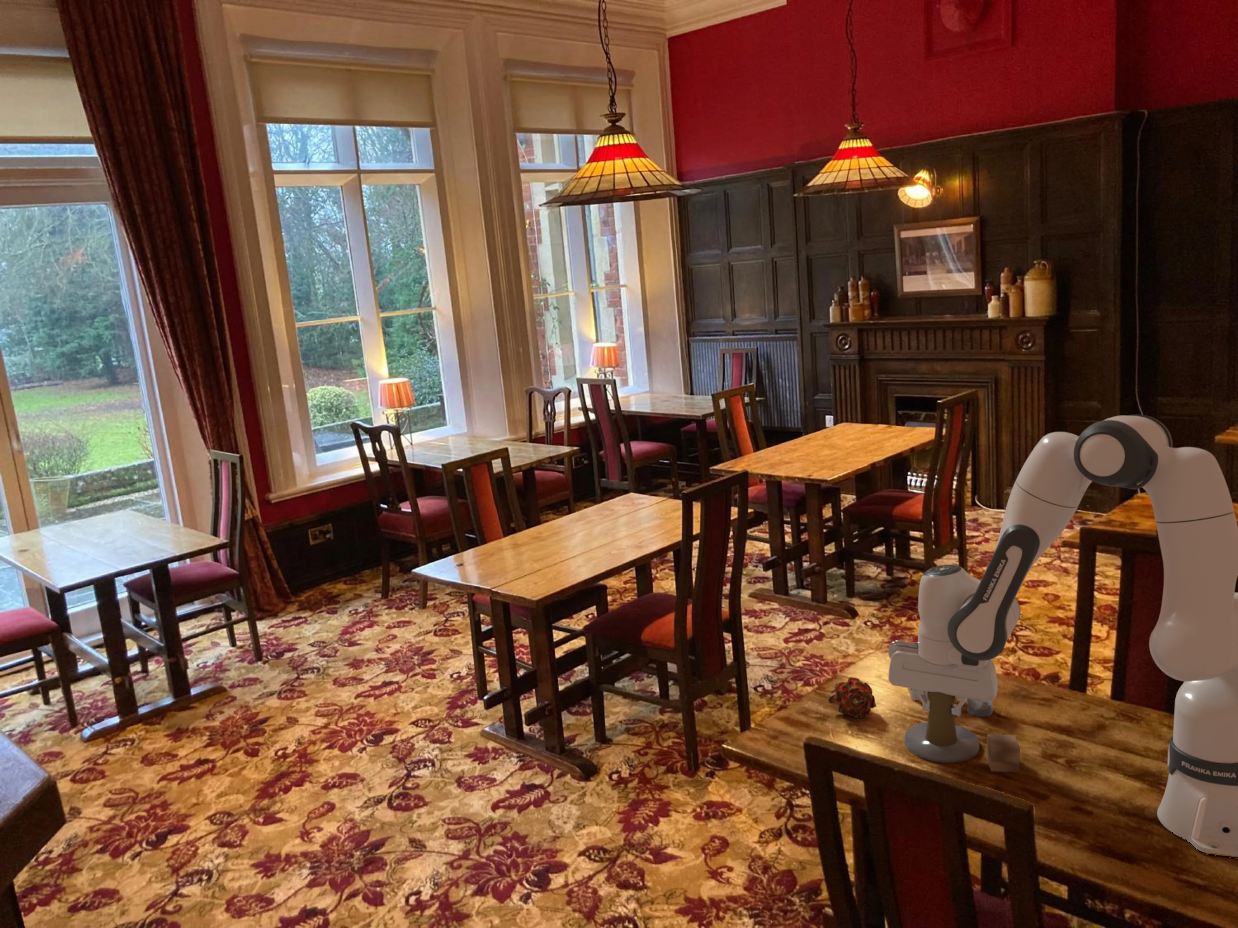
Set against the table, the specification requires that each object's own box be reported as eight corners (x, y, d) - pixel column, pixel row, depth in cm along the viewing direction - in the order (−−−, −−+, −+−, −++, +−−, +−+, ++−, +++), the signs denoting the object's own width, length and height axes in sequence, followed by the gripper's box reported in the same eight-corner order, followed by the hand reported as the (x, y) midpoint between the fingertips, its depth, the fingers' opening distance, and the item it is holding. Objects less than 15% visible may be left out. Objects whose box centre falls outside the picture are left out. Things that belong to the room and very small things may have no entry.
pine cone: (866, 734, 201) (837, 717, 212) (893, 704, 202) (863, 689, 214) (842, 707, 199) (814, 691, 211) (869, 677, 201) (840, 663, 212)
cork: (953, 730, 195) (953, 679, 192) (960, 745, 189) (961, 693, 186) (922, 731, 195) (922, 680, 193) (929, 746, 189) (929, 694, 187)
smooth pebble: (985, 735, 194) (985, 730, 194) (970, 768, 183) (970, 763, 182) (914, 722, 201) (914, 716, 201) (896, 753, 190) (896, 747, 189)
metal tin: (995, 708, 204) (995, 677, 203) (988, 718, 201) (987, 687, 199) (971, 703, 207) (970, 673, 206) (964, 713, 204) (963, 683, 202)
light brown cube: (1014, 758, 185) (1014, 734, 184) (1019, 772, 180) (1020, 748, 179) (986, 757, 186) (987, 733, 185) (991, 771, 181) (991, 747, 180)
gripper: (883, 644, 190) (884, 709, 193) (993, 660, 180) (992, 729, 183) (892, 632, 196) (893, 695, 199) (999, 648, 185) (998, 714, 188)
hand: (941, 712), depth 191 cm, fingers open, 4 cm apart
